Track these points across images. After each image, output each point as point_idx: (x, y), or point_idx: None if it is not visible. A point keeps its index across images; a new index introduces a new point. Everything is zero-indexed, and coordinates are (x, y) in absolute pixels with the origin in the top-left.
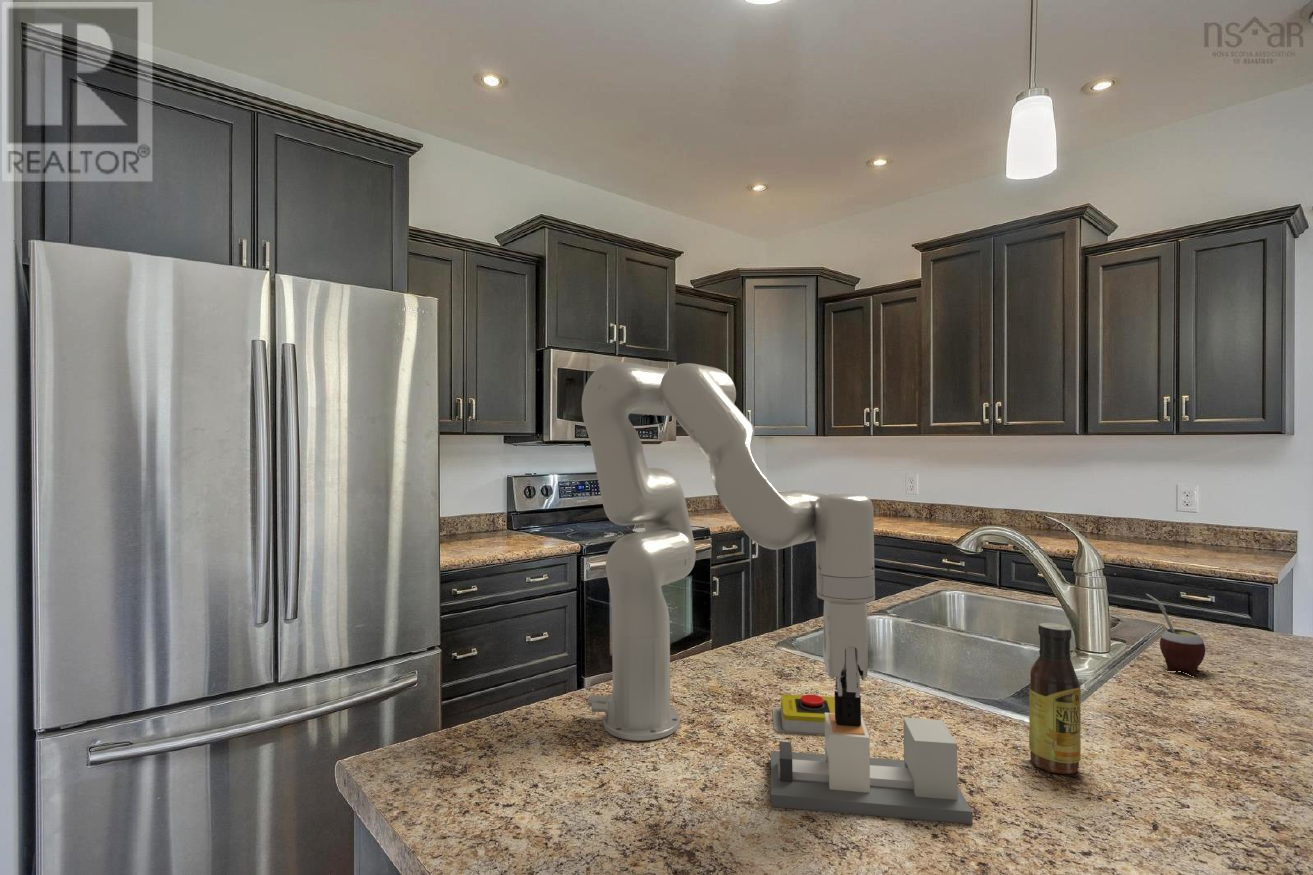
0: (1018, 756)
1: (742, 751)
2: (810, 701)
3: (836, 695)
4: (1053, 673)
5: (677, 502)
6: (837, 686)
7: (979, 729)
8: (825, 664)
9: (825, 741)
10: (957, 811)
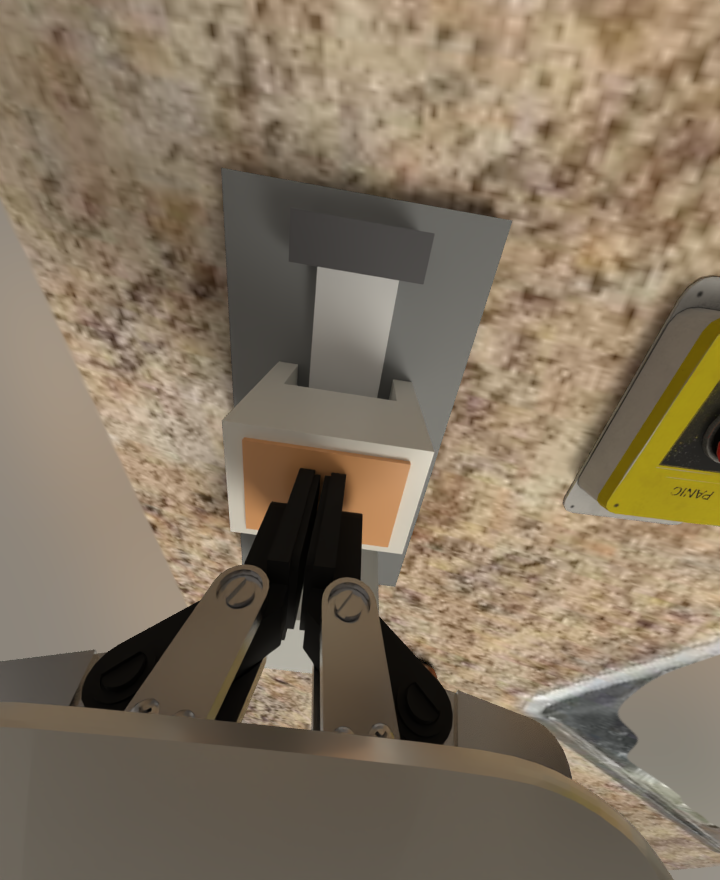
0: (439, 655)
1: (596, 108)
2: None
3: (269, 562)
4: None
5: None
6: (246, 618)
7: (532, 651)
8: (198, 801)
9: (394, 405)
10: (242, 550)
